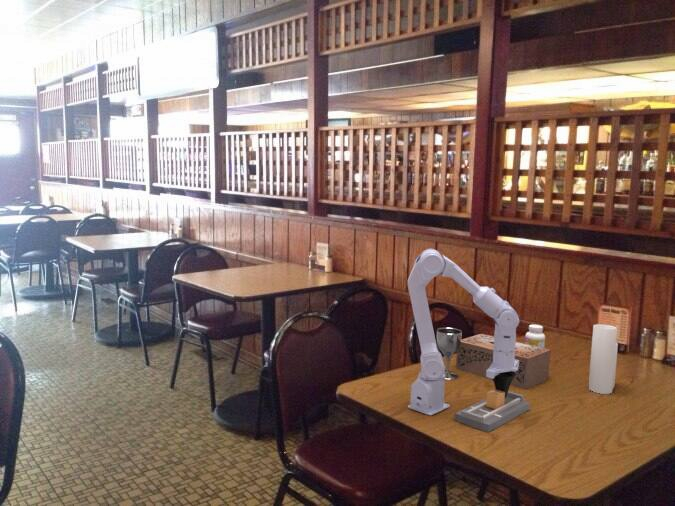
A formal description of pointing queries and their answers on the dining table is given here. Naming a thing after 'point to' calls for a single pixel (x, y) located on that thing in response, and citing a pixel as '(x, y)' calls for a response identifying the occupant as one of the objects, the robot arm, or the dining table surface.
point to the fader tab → (495, 398)
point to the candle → (603, 359)
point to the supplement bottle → (535, 336)
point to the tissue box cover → (532, 359)
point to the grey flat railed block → (493, 413)
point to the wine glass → (449, 346)
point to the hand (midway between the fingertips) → (501, 397)
